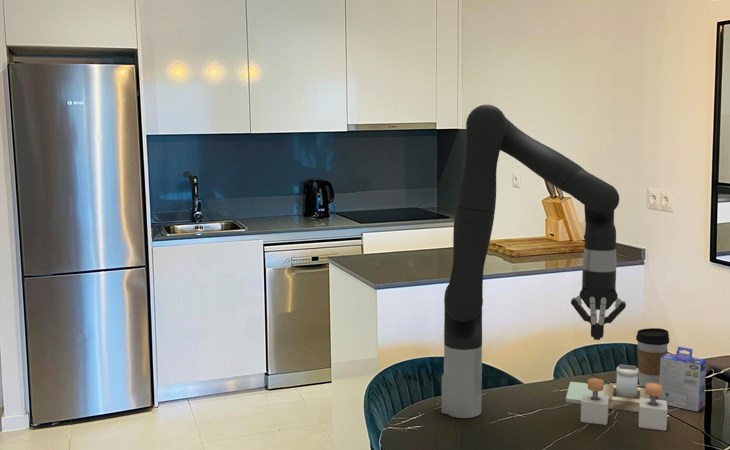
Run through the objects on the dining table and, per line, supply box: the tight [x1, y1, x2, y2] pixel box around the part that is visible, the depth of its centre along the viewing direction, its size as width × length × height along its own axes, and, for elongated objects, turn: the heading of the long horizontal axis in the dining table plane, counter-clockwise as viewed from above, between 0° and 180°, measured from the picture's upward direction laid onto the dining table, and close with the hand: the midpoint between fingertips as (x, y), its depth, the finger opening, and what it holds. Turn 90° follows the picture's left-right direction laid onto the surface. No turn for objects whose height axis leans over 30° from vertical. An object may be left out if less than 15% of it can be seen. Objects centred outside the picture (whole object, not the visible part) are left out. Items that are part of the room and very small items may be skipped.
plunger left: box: [587, 377, 605, 400], centre depth 177 cm, size 4×4×6 cm
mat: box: [565, 381, 605, 405], centre depth 193 cm, size 9×13×1 cm
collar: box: [603, 383, 651, 413], centre depth 187 cm, size 11×11×2 cm
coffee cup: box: [635, 327, 670, 388], centre depth 199 cm, size 8×8×15 cm
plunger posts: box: [580, 393, 668, 431], centre depth 176 cm, size 19×7×5 cm, turn 70°
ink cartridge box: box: [657, 346, 707, 412], centre depth 185 cm, size 10×6×14 cm, turn 53°
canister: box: [615, 363, 639, 399], centre depth 187 cm, size 5×5×10 cm
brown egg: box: [645, 383, 662, 406], centre depth 173 cm, size 4×4×6 cm
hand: (597, 339), depth 175 cm, fingers closed
